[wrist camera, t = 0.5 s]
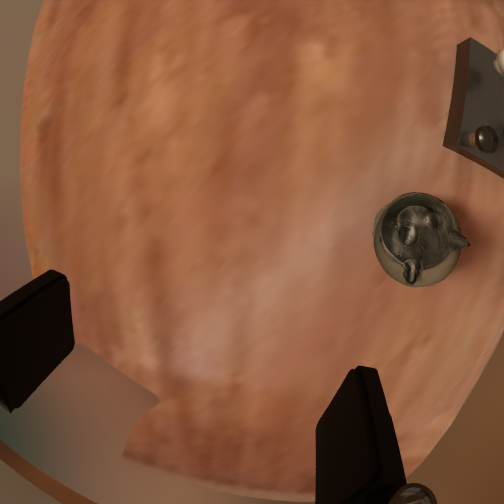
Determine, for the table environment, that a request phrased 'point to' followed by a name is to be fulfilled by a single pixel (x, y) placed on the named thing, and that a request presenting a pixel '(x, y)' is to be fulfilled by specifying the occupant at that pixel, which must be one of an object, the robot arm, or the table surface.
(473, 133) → the dark brown round knob
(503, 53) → the knob
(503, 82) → the mount
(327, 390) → the table surface
